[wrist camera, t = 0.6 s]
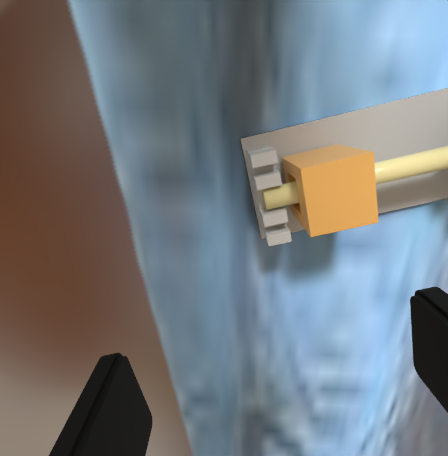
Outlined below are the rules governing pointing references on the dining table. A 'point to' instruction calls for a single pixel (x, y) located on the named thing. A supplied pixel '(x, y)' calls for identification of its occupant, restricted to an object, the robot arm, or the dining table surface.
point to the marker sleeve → (333, 188)
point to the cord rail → (362, 139)
